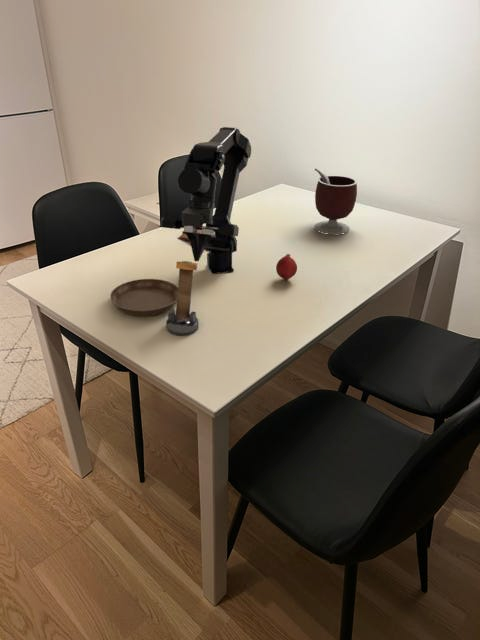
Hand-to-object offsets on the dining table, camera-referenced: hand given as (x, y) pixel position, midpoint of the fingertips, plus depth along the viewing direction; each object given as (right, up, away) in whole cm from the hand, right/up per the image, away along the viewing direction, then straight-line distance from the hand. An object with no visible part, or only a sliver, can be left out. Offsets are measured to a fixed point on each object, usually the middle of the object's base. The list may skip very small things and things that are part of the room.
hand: (196, 261), depth 125 cm
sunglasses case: (-1, +10, +39) cm, 41 cm away
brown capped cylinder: (-3, -15, -8) cm, 17 cm away
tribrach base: (-3, -17, -6) cm, 18 cm away
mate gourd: (+43, +18, +51) cm, 69 cm away
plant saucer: (-13, -11, +4) cm, 17 cm away
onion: (+24, -4, +16) cm, 29 cm away
